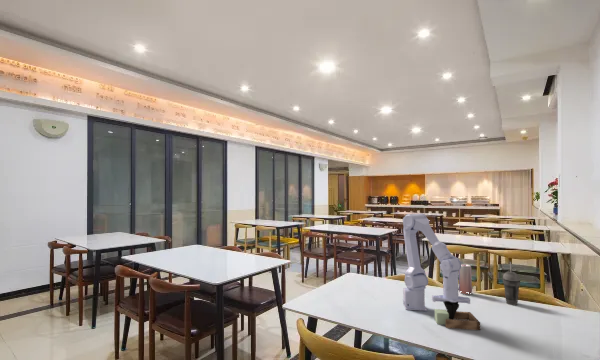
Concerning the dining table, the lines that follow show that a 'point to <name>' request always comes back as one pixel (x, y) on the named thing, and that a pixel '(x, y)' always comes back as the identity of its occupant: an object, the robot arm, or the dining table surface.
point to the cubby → (463, 321)
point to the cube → (441, 316)
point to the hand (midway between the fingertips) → (451, 319)
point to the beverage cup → (511, 286)
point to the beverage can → (465, 279)
